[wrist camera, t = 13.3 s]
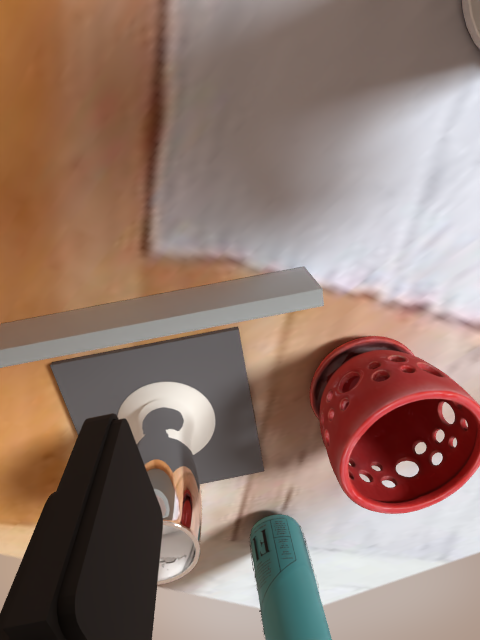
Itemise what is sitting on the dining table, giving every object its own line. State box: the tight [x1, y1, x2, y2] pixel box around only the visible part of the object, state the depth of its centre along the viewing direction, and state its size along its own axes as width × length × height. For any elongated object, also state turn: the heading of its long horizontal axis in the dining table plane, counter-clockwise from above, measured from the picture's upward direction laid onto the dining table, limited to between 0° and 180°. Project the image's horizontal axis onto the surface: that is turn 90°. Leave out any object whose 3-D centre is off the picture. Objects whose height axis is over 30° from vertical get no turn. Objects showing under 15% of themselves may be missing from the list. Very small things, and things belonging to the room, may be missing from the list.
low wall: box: [0, 267, 324, 368], centre depth 37 cm, size 28×2×6 cm, turn 99°
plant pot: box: [310, 336, 480, 514], centre depth 40 cm, size 13×13×12 cm
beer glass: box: [135, 399, 202, 585], centre depth 37 cm, size 7×7×15 cm
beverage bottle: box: [249, 515, 332, 640], centre depth 44 cm, size 6×7×20 cm
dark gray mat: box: [50, 327, 264, 484], centre depth 45 cm, size 18×18×1 cm
